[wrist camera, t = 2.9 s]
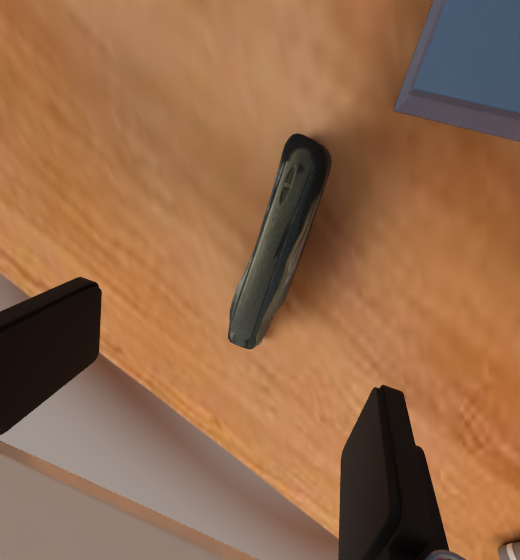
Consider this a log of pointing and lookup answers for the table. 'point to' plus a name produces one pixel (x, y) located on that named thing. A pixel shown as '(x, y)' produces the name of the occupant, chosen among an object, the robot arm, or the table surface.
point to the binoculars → (509, 551)
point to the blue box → (467, 67)
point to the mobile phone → (279, 239)
